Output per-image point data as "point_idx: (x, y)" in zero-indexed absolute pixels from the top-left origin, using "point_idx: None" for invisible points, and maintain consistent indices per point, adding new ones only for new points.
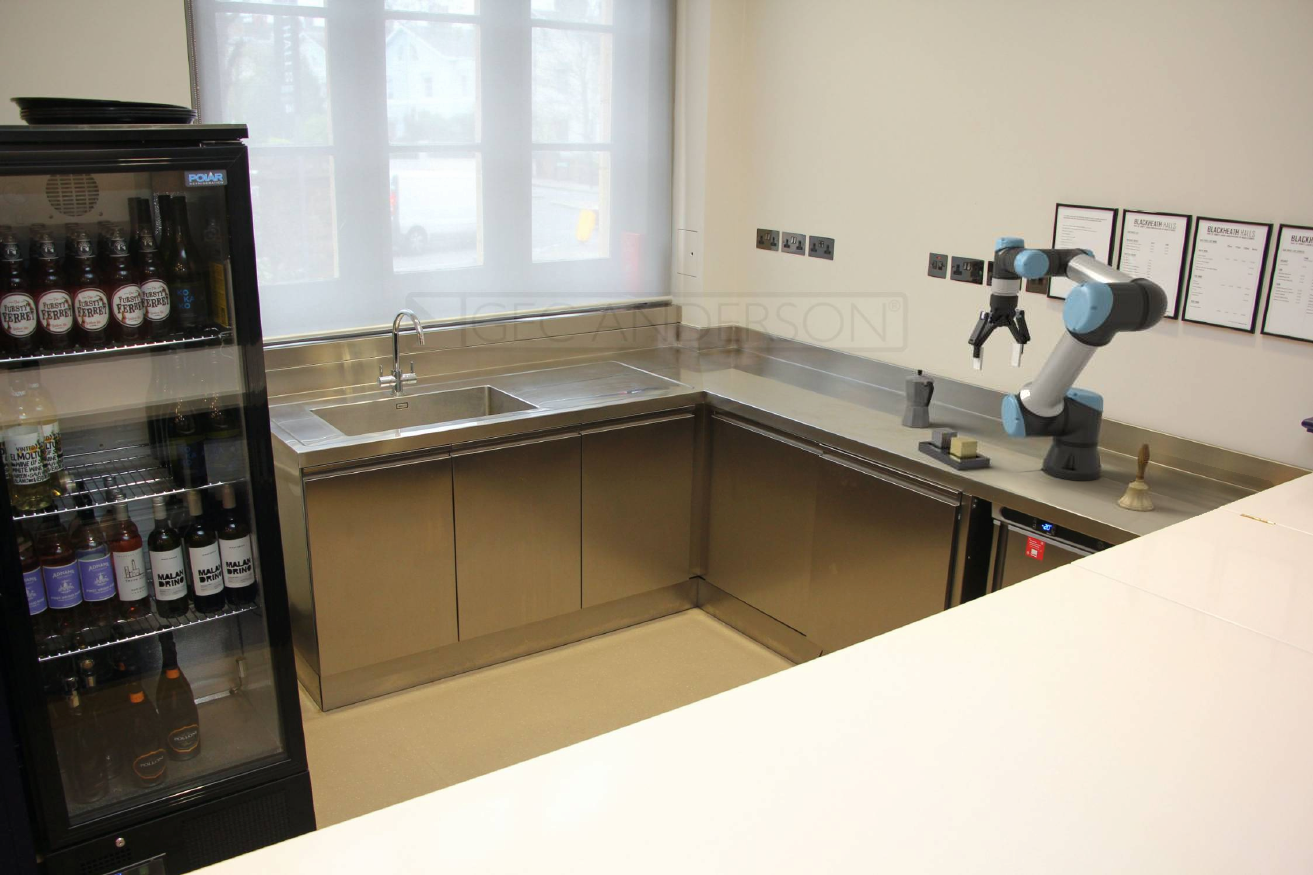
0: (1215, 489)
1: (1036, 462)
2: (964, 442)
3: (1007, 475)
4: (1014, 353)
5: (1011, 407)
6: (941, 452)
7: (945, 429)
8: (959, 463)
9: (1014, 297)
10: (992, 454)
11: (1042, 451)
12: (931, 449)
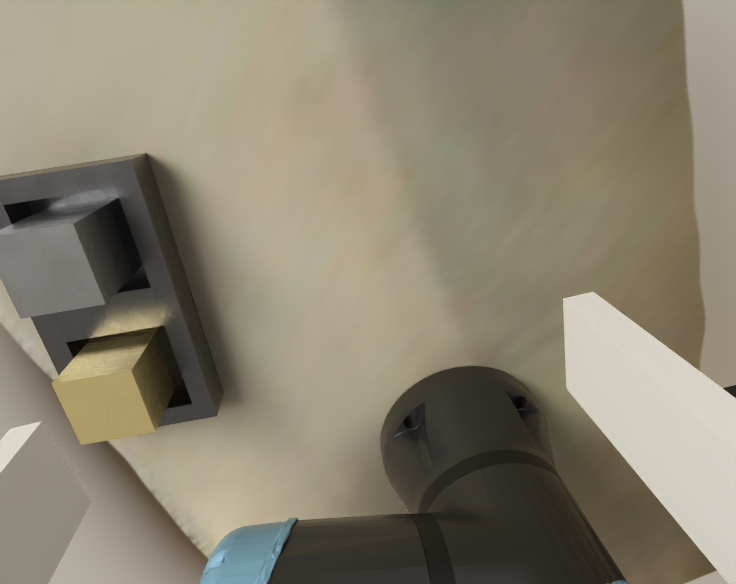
0: (696, 545)
1: (416, 343)
2: (93, 442)
3: (256, 446)
4: (659, 417)
5: None
6: (47, 338)
7: (53, 259)
8: None
9: None
10: (309, 244)
11: (517, 228)
12: None
